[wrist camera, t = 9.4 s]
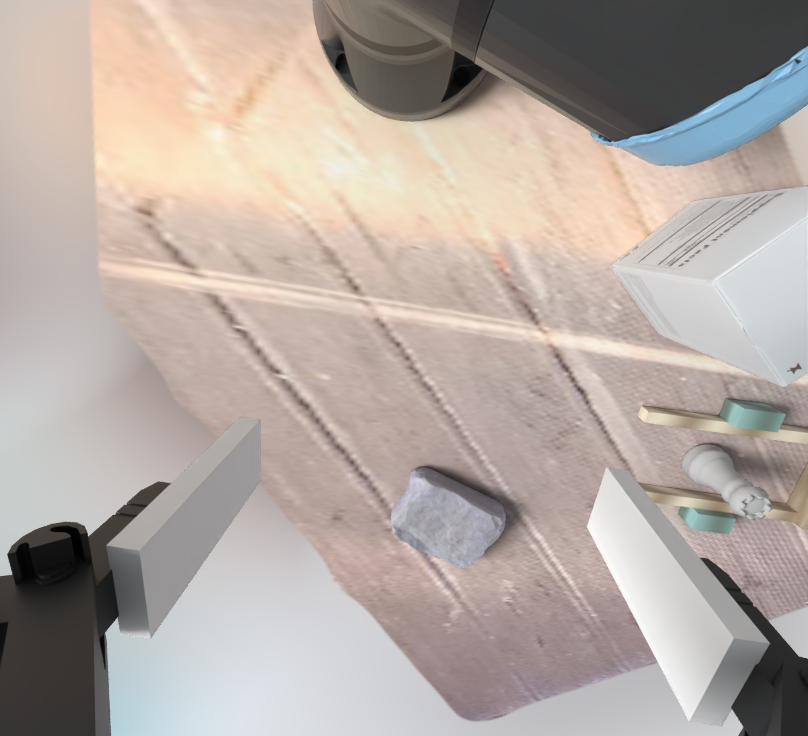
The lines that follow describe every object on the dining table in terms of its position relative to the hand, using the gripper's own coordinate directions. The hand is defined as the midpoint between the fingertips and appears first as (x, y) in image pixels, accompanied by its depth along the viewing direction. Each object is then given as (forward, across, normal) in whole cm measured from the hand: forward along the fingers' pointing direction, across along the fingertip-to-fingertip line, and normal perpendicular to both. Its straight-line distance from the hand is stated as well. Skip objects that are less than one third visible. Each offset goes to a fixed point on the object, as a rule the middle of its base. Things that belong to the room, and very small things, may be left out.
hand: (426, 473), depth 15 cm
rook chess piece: (+27, +31, -11) cm, 43 cm away
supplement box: (+27, +22, +8) cm, 36 cm away
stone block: (+27, +5, -23) cm, 36 cm away
